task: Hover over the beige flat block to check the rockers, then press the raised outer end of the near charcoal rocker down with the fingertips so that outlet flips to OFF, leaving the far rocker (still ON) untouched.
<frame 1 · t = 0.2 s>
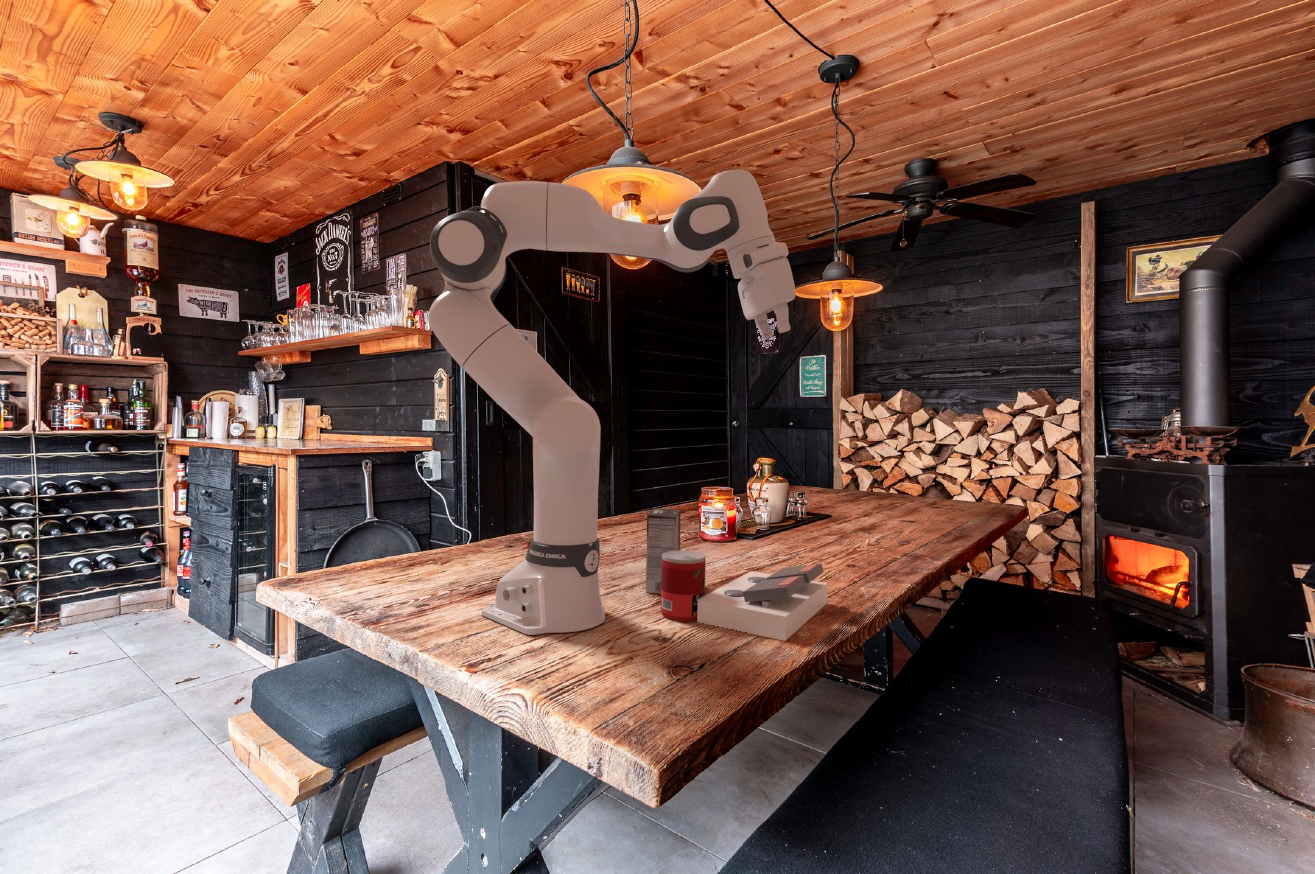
hand: (776, 335, 111), 51 cm above the table, tool tilted 20°, fingers open, 8 cm apart
beige flat block: (765, 612, 112), on the table
rocker far: (795, 574, 116), point 6 cm above the table, hinge at -15.0°
canned food: (682, 616, 110), on the table
rocker near: (774, 588, 106), point 6 cm above the table, hinge at -15.0°
coffee box: (662, 588, 128), on the table
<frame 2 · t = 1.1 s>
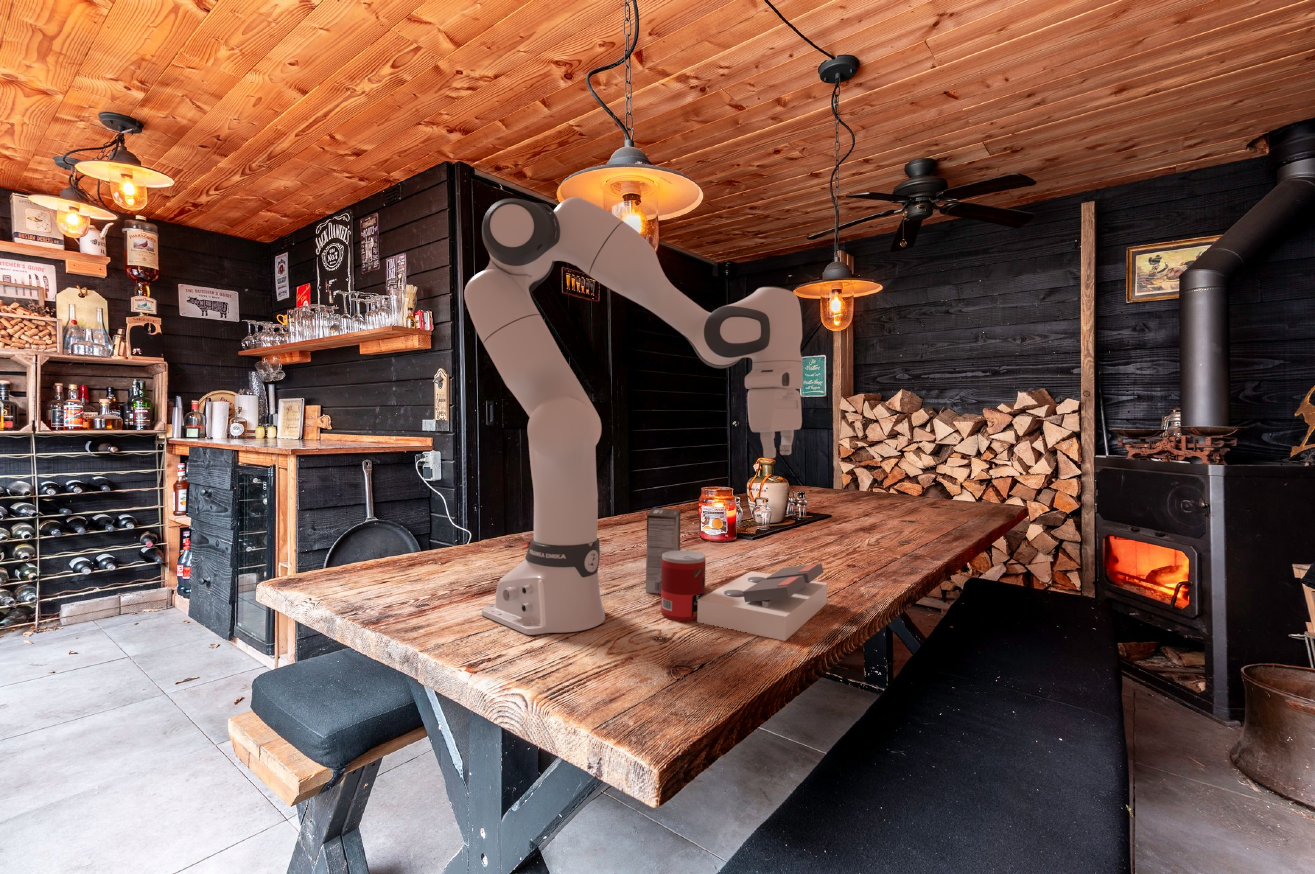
hand: (778, 456, 109), 29 cm above the table, tool pointing down, fingers open, 8 cm apart
nothing on the table moved.
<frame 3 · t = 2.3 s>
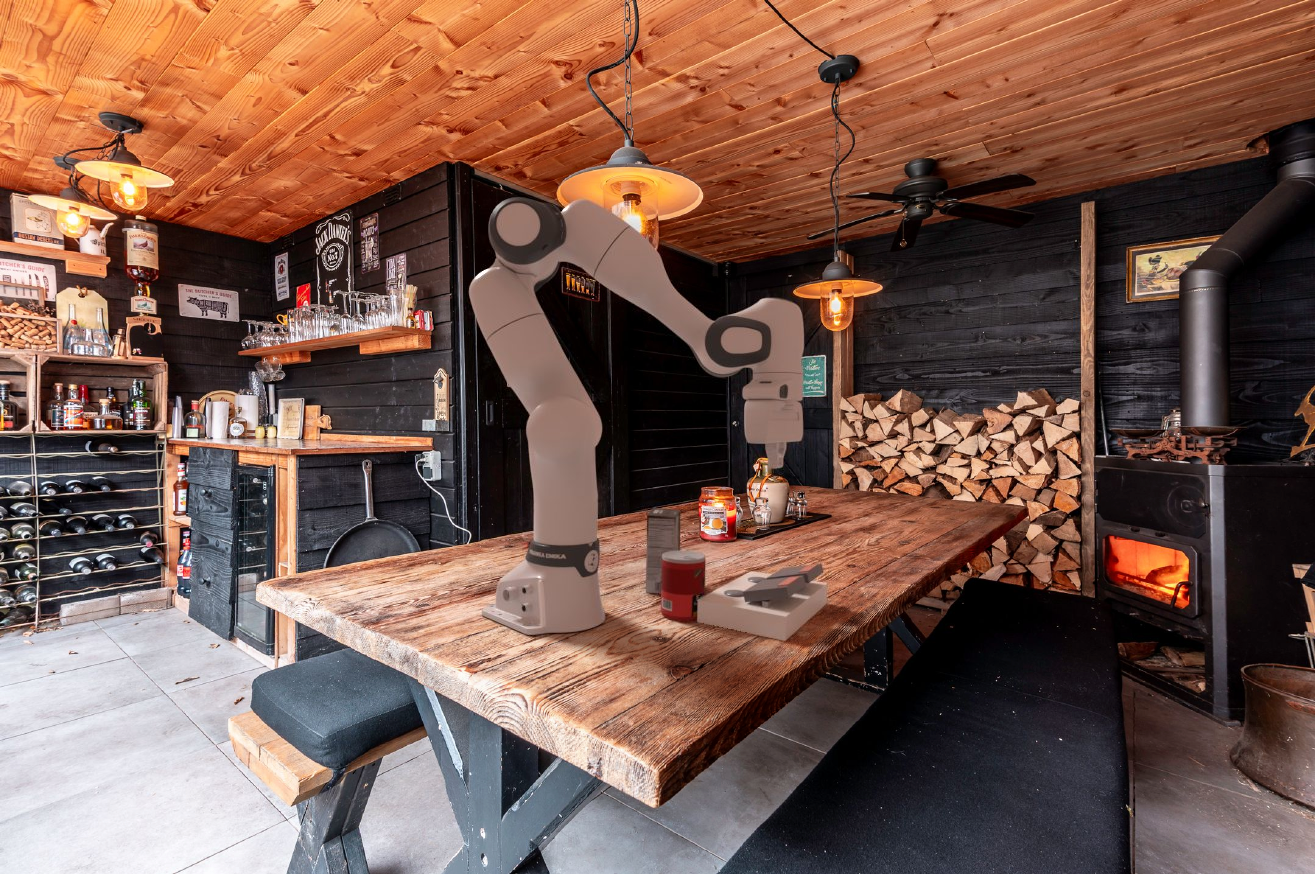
hand: (775, 467, 109), 27 cm above the table, tool pointing down, fingers closed
nothing on the table moved.
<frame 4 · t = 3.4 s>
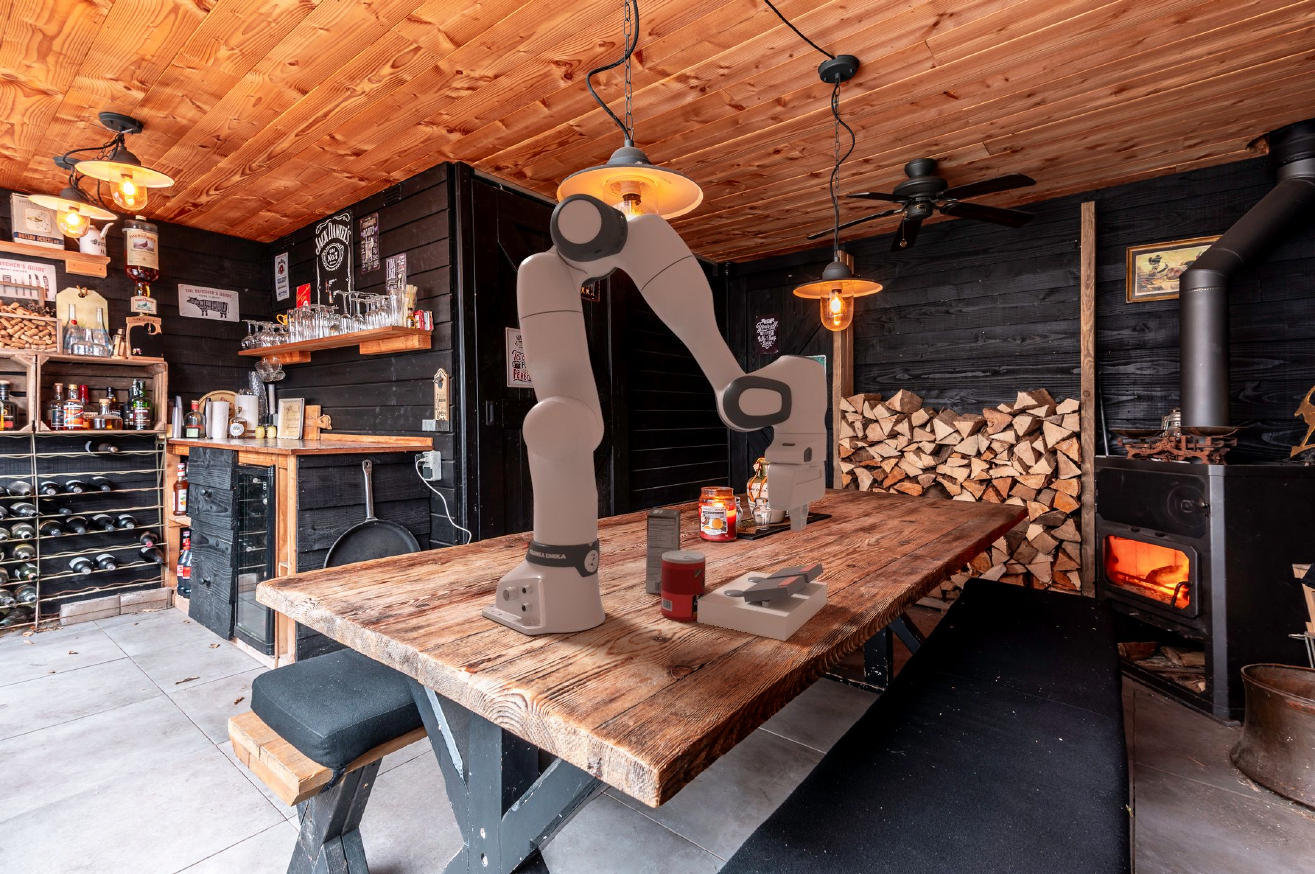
hand: (798, 529, 105), 17 cm above the table, tool pointing down, fingers closed
nothing on the table moved.
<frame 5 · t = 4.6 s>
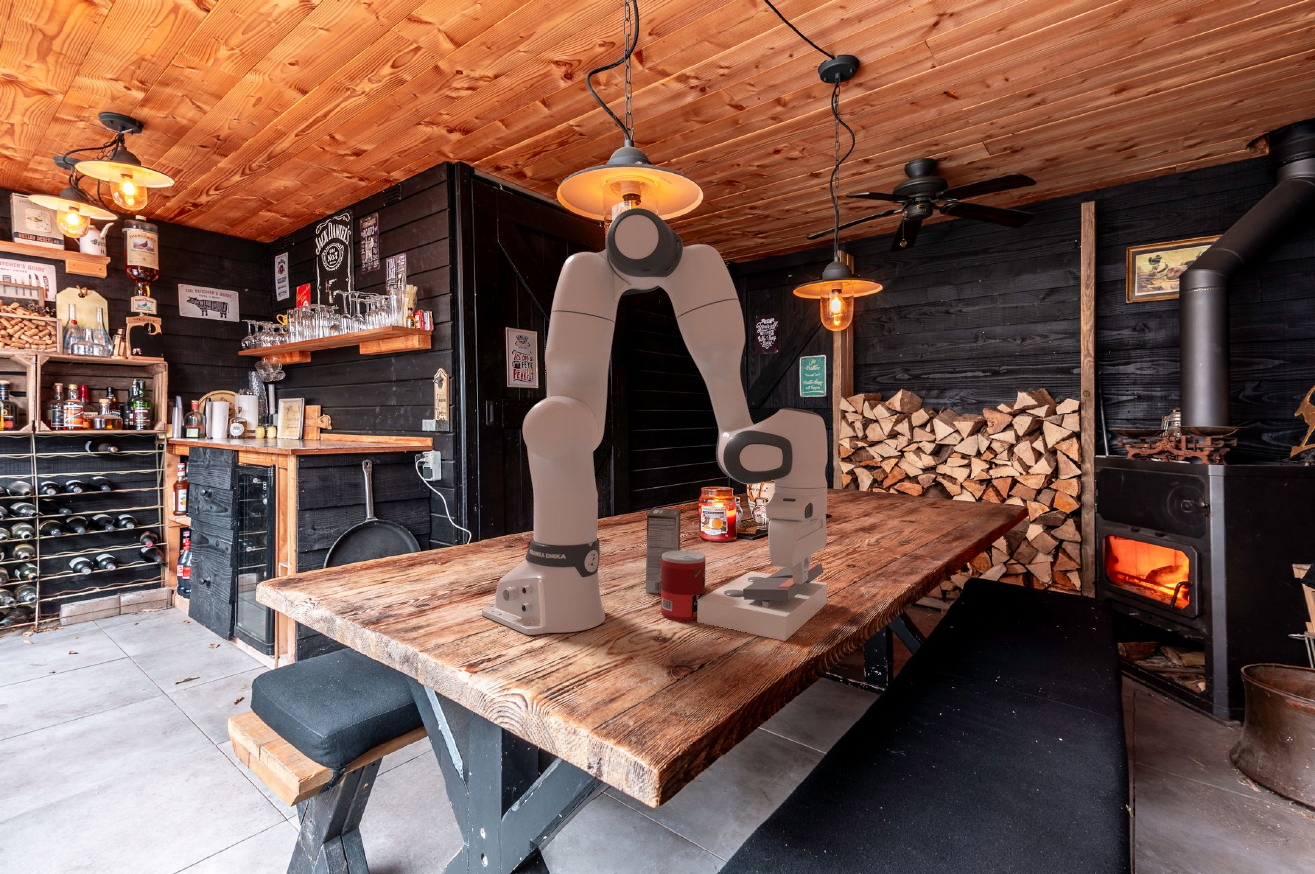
hand: (800, 582, 105), 8 cm above the table, tool pointing down, fingers closed, pressing on rocker near
rocker near: (774, 588, 106), point 6 cm above the table, hinge at -8.6°, touching gripper
everything else where it was.
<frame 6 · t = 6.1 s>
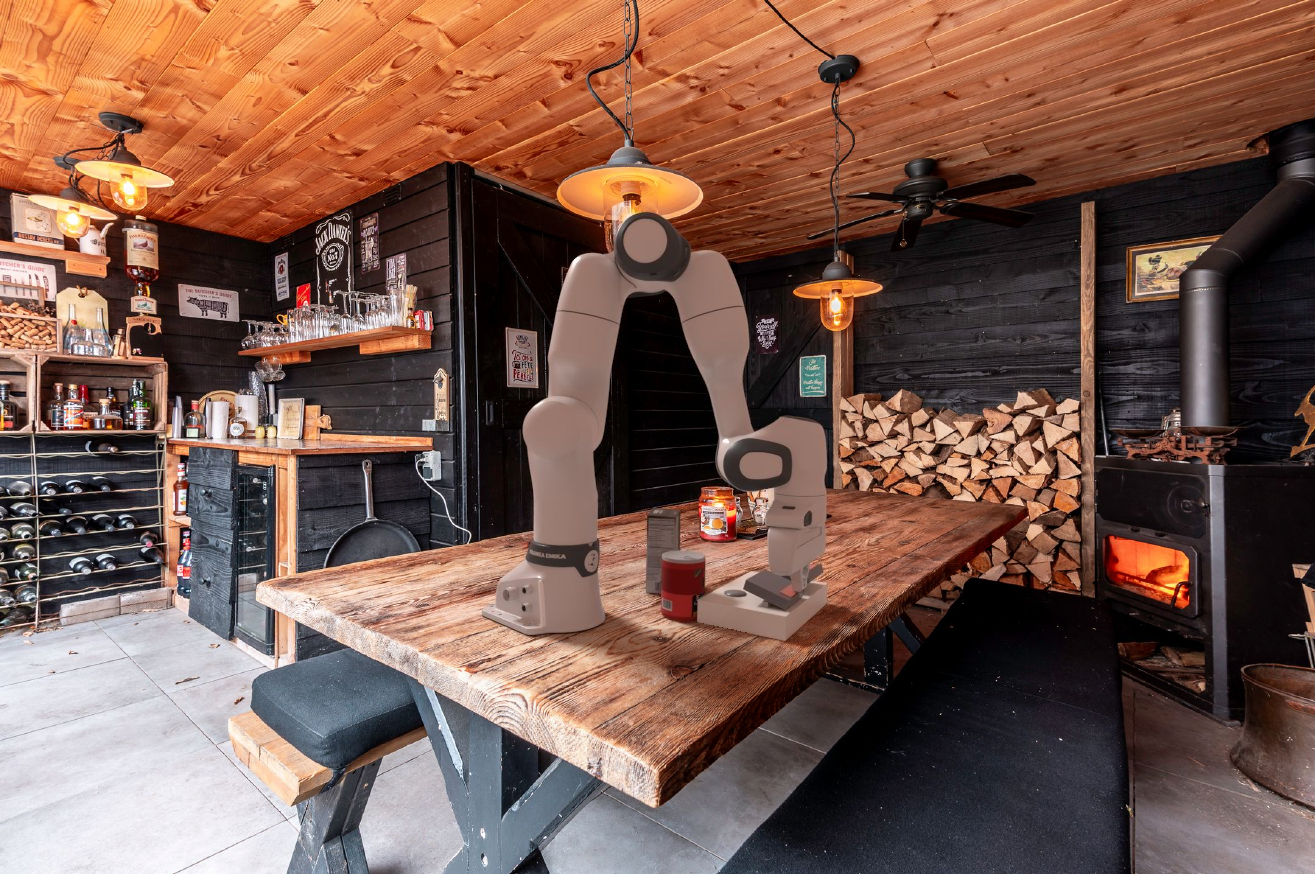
hand: (799, 589, 105), 6 cm above the table, tool pointing down, fingers closed, pressing on rocker near
rocker near: (774, 588, 106), point 6 cm above the table, hinge at 16.3°, touching gripper
everything else where it was.
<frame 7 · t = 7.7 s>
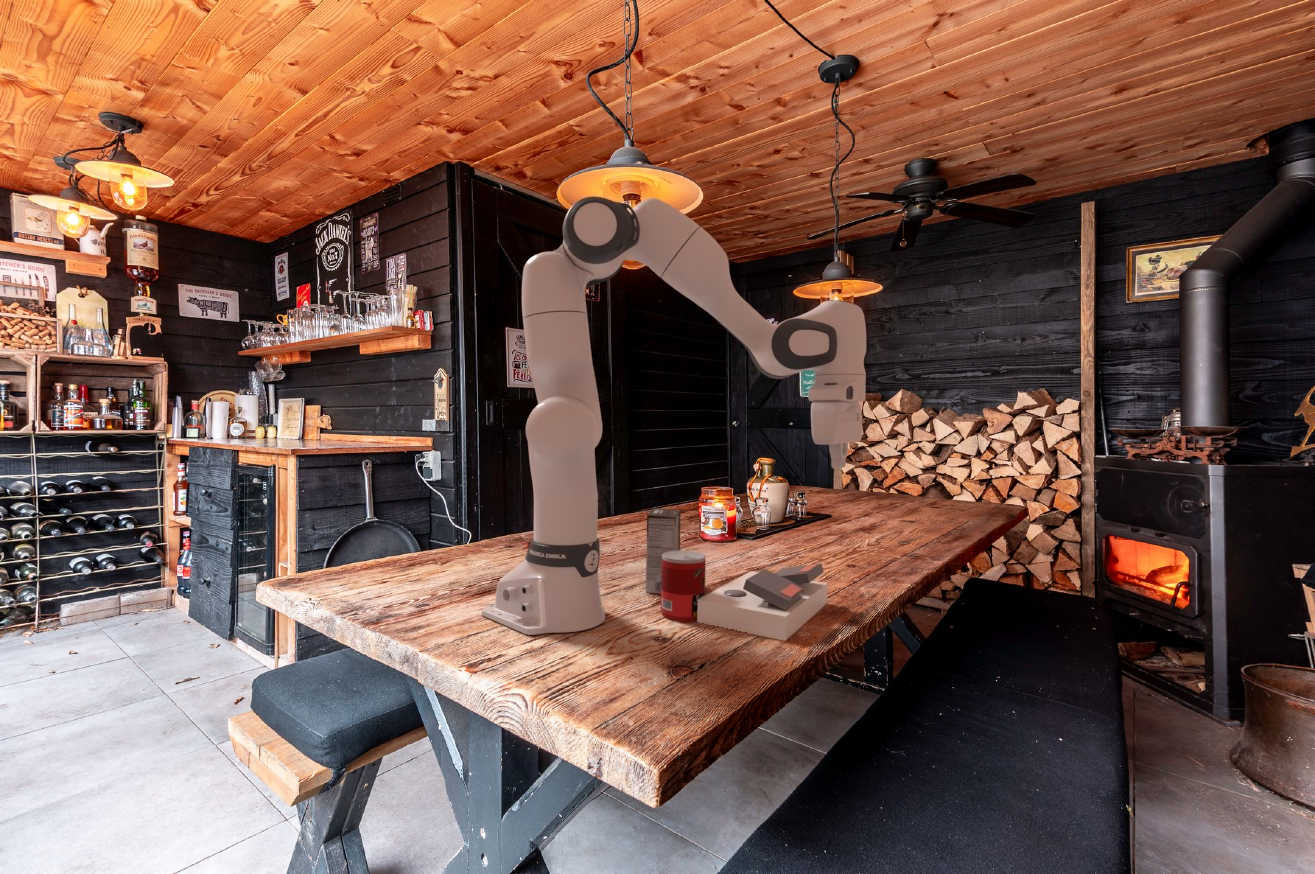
hand: (838, 468, 110), 27 cm above the table, tool pointing down, fingers closed
rocker near: (774, 588, 106), point 6 cm above the table, hinge at 16.9°
everything else where it was.
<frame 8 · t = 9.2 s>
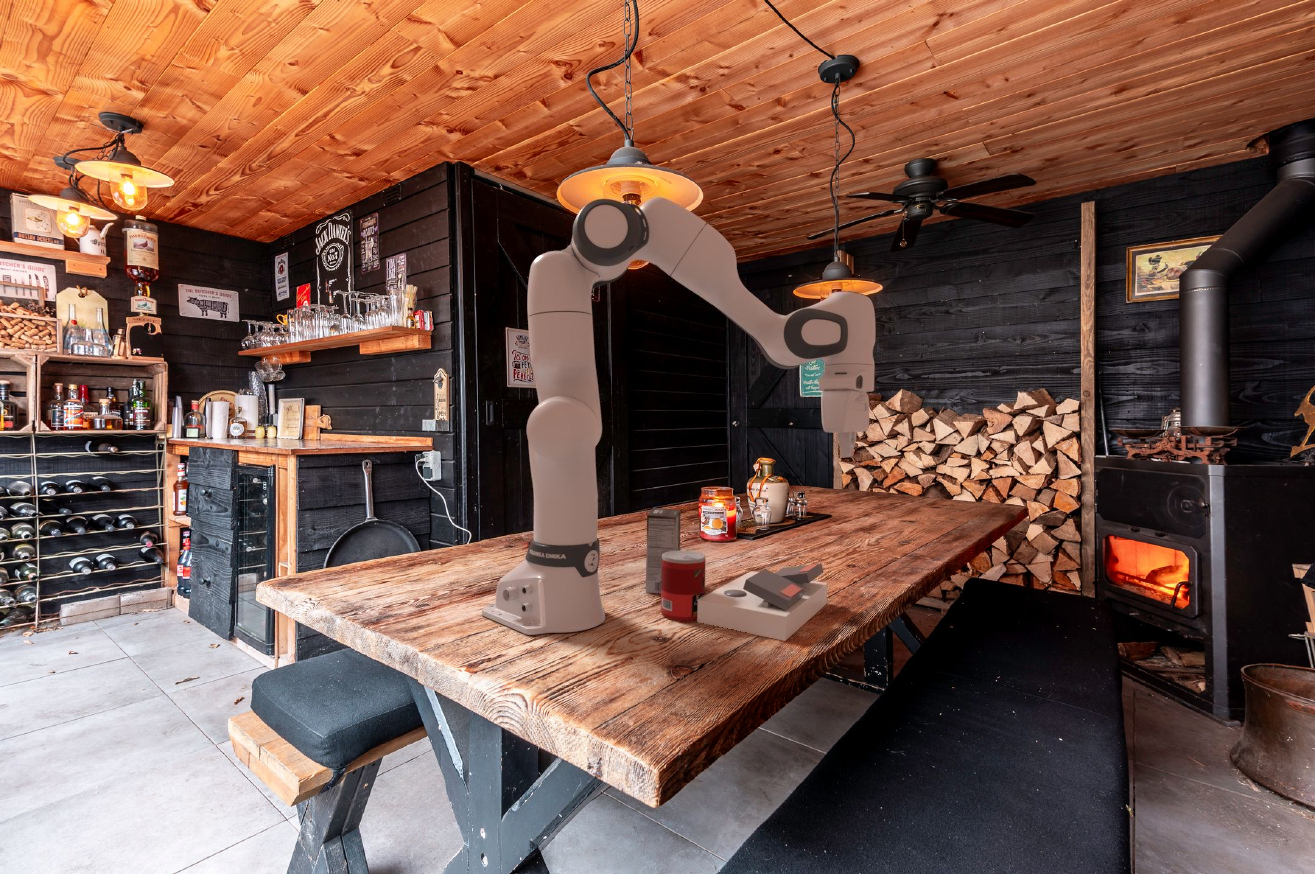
hand: (846, 456, 112), 29 cm above the table, tool pointing down, fingers closed
nothing on the table moved.
at the end: rocker near at +17° (first picture: -15°); rocker far at -15° (first picture: -15°) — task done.
